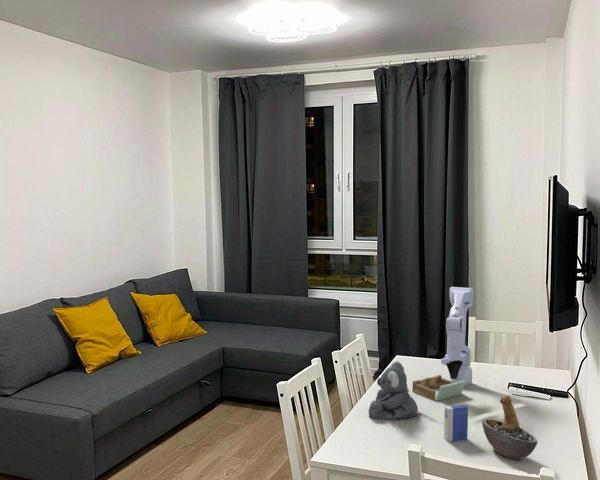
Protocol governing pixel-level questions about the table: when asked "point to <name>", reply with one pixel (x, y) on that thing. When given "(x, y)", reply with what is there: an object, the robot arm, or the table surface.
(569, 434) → the table surface
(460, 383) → the panel
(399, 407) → the koala plush
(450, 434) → the walkman
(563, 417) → the table surface
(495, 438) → the planter
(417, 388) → the crate
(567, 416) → the table surface
